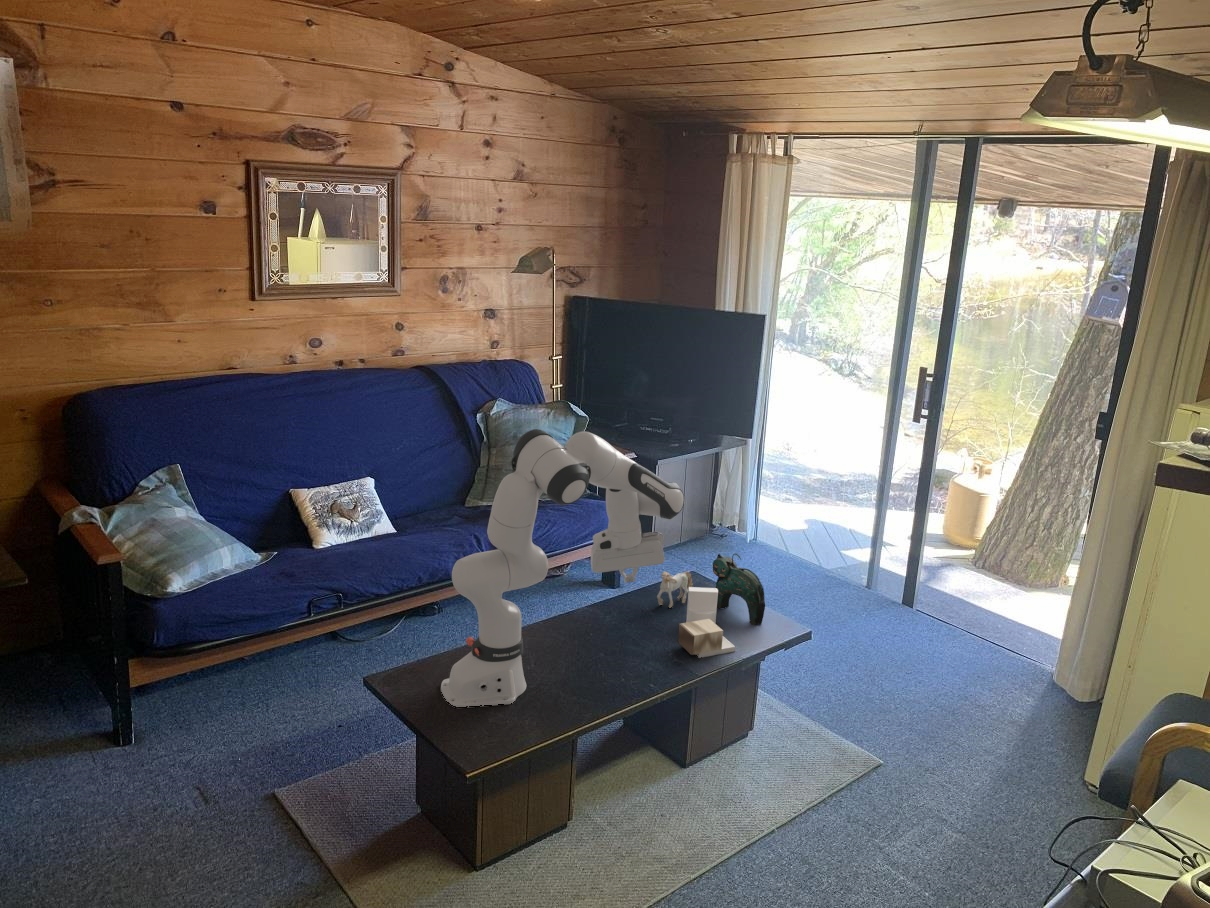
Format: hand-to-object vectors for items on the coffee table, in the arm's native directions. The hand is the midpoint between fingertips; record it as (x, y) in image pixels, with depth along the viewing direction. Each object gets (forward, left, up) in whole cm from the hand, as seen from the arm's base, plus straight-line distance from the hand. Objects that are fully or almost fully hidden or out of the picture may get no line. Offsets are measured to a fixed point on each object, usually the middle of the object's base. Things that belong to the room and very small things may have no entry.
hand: (629, 581), depth 264 cm
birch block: (+18, -1, -20) cm, 27 cm away
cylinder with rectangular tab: (+31, +13, -25) cm, 42 cm away
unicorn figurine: (+30, +26, -25) cm, 47 cm away
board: (+27, +1, -25) cm, 36 cm away
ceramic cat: (+47, +16, -25) cm, 55 cm away
